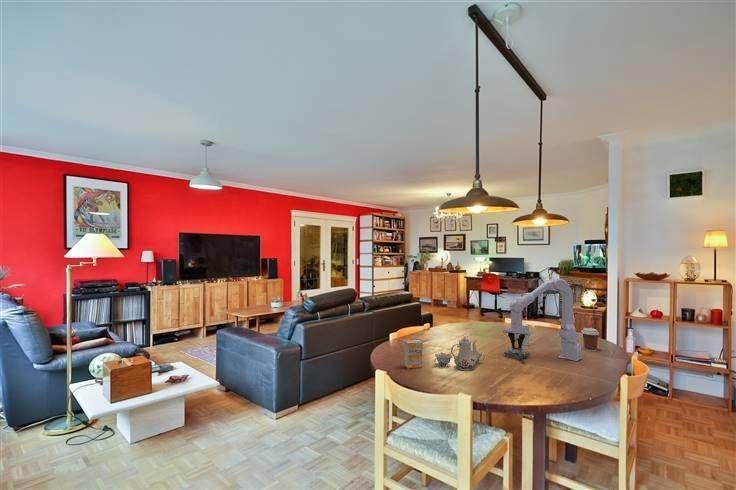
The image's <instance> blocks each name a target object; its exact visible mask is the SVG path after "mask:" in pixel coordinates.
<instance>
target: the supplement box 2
mask: <svg viewBox="0 0 736 490" xmlns="http://www.w3.org/2000/svg"><path fill="white" fill-rule="evenodd" d="M522 331H527V332H530V326H529V325H528V324H527V323H525V322H522ZM517 336H518V337H519V334H515V337H517ZM515 337H514V338H515ZM524 346H527V347H528V346H530V336H525V338H524V340H523V343H522V347H524Z"/></svg>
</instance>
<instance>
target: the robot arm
mask: <svg viewBox="0 0 736 490" xmlns="http://www.w3.org/2000/svg"><path fill="white" fill-rule="evenodd" d="M547 291H557V292H558V293H559V294H561V319H562V320H561V322H562V323H561V324H560V328H559V330H558V335H559V337H560V355H559V356H558V358H559V359H565V360H570V361H575V362H578V361H579V360H581V359H582V344H581V343H580V342H577V340H578V338H579V337H578V336H579V335H578V333H577V329H576V327H575V325H574V296H573V295H574V293H573V290H572V288H571V287H570V286H569V282H568V281H566V280H565V279H563V278H558V277H554V276H553V277H550V278H549V279H547V280H546V281H544V282H543V283H541V285H538V287H537V288H535V289H534V290H532V291H531V292H526V293H525V292H524V293H522V295H521V296H520V297H519V298H516V299H515V300H513V301H511V302H510V303H509V309H510V310H511V311H510V328H503V329H502V334H507V337H508V338H509V341H510V343H511V346H512V347H514V337H515V334H519V348H522V347H523V346H522V343H523V340H524V338H525V336H529V337H531V336H532V332H531V331H529V332H527V331H522V323H523V310H524V309H525V308H526V307H528V306H529V305H530V304H532V303H533V302H534V301H535V299H536V298H537V297H538V296H540V295H542V294H544V293H545V292H547Z"/></svg>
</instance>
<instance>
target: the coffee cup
mask: <svg viewBox="0 0 736 490" xmlns="http://www.w3.org/2000/svg"><path fill="white" fill-rule="evenodd" d="M580 333H581V334H582V340H583V341H582V342H583V349H584V350H585V351H588V352H597V351H598V340H599V339H598V338H599V335H600V332H598V330H597V329H596V328H593V327H592V328H591V327H584V328H583V330H581V332H580Z"/></svg>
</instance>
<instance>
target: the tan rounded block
mask: <svg viewBox="0 0 736 490" xmlns="http://www.w3.org/2000/svg"><path fill="white" fill-rule="evenodd" d="M514 349H517V350H520V348H519V337H518V336H517V337H515V338H514Z"/></svg>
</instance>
